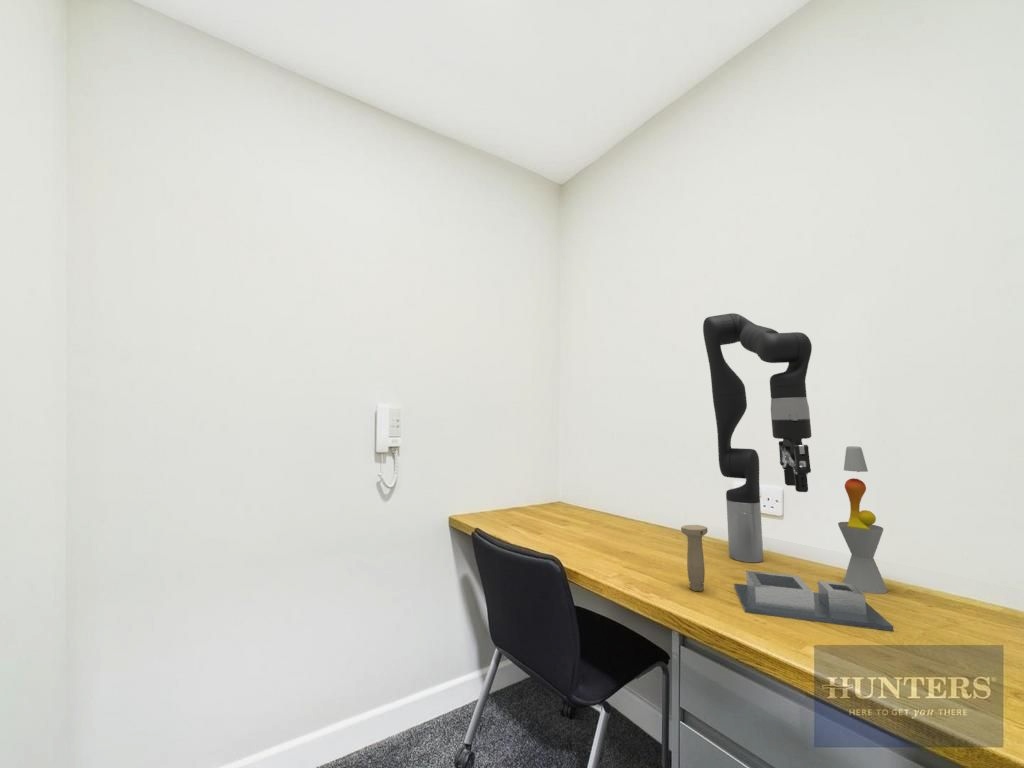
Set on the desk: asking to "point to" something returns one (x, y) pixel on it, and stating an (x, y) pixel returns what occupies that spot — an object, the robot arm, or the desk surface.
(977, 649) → the desk surface
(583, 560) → the desk surface
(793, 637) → the desk surface
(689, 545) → the handle
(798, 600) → the socket plate
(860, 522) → the stacked pieces
